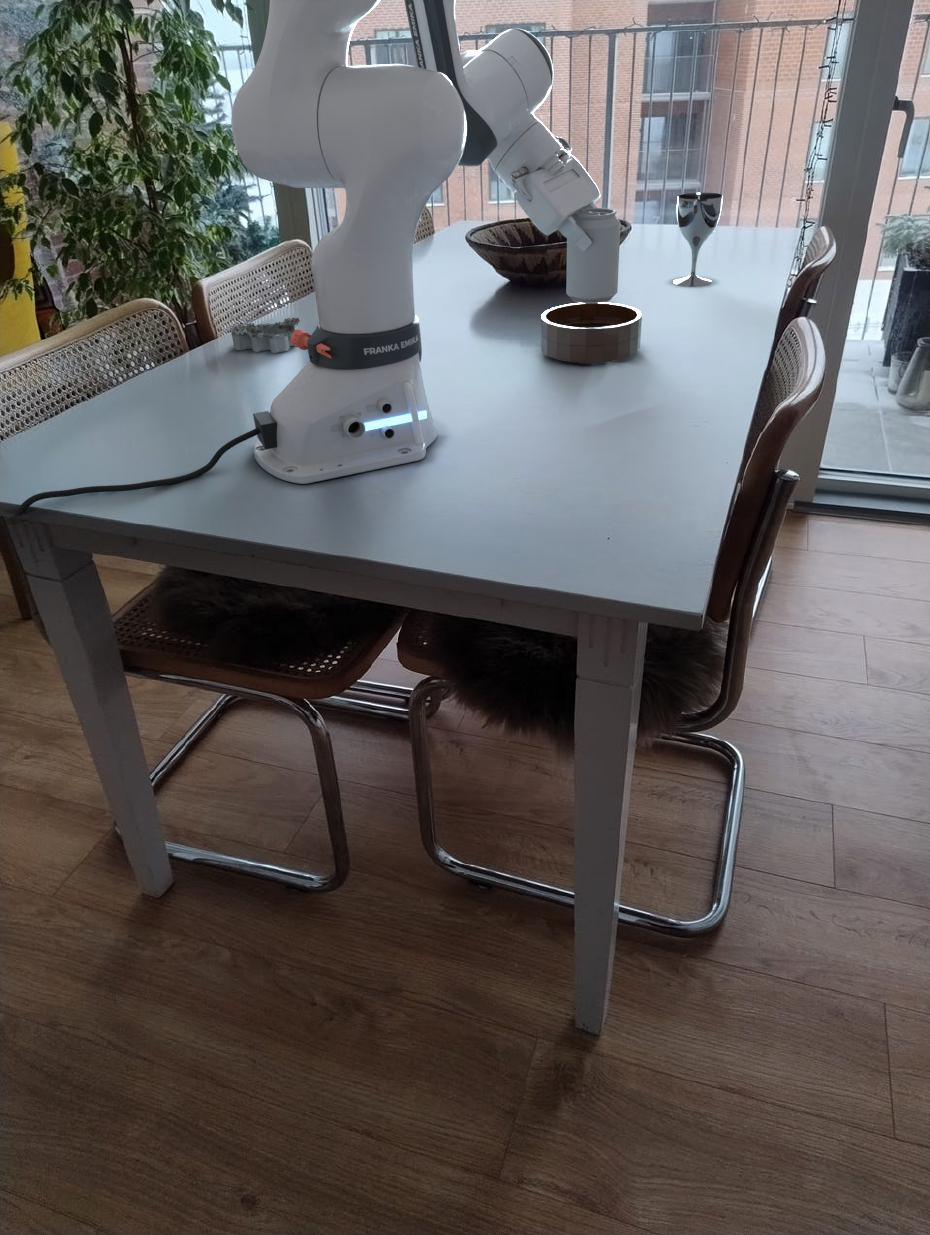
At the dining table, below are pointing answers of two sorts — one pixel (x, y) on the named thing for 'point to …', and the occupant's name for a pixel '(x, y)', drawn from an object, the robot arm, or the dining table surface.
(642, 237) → the dining table surface
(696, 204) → the silver goblet
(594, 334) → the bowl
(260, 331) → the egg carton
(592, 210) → the can
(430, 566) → the dining table surface
